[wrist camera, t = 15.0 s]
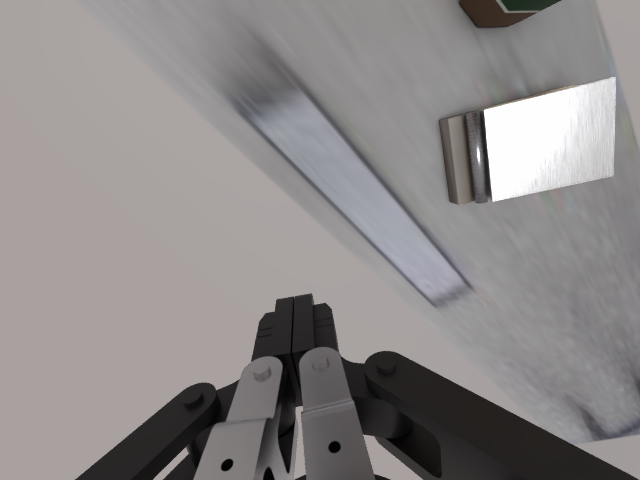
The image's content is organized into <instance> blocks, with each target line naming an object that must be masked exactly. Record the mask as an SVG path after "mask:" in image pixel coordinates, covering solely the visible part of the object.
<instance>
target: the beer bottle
mask: <svg viewBox="0 0 640 480" xmlns="http://www.w3.org/2000/svg"><path fill="white" fill-rule="evenodd" d="M559 1H561V0H461V3H460V4H461V5H462V7H463V8H464V9H465V11H466V12H467V13H468V14H469V16H470V17H471V18H472V20H473V21H474V22H475V24H476V25H477V26H478V27H508V26H510V25H513V24H515V23H517V22H520V21H522V20H524V19H526V18H528V17H530V16H531V15H533V14H535V13H537V12H539V11H541V10H543V9H545V8H547V7H549V6H551V5H553V4H555V3H557V2H559Z"/></svg>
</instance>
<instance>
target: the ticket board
mask: <svg viewBox="0 0 640 480" xmlns="http://www.w3.org/2000/svg"><path fill="white" fill-rule="evenodd" d="M574 86H576V85H572V86H567V87H562V88H558V89H554V90H550V91H546V92H543V93H539V94H535V95H531V96H528V97H524V98H520V99H516V100H513V101H509V102H505V103H502V104H498V105H494V106H490V107H487V108H483V109H479V110H475V111H472V112H468V113H464V114H460V115H457V116H453V117H449V118H446V119H442V120H439V123H440V130H441V138H442V146H443V153H444V161H445V168H446V176H447V184H448V191H449V199H450V202H452V203H455V204H458V205H460V204H464V203H467V202H471V201H475V195H474V186H473V176H472V167H471V158H470V148H469V139H468V130H467V121H466V114H469V113H473V112H478V111H481V110H484V109H488V108H492V107H496V106H500V105H504V104H508V103H512V102H516V101H520V100H523V99H527V98H531V97H535V96H539V95H543V94H547V93H551V92H555V91H558V90H562V89H566V88H570V87H574Z"/></svg>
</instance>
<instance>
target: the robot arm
mask: <svg viewBox="0 0 640 480" xmlns="http://www.w3.org/2000/svg"><path fill="white" fill-rule="evenodd" d="M298 406H303V412H301V420H302V432H303V444H304V456H305V469H306V475H304V476H302V477H300V478H297V479H295V480H390V479H387V478H385V477H382V476H379V475H375V474H374V473H373V469H372V466H371V462H370V458H369V455H368V451H367V447H366V444H365V440H364V437H363V434H364V435H370V436H375V438H376V440H377V441H378V443H379V444H380V445H382V446H383V447H384V448H385V449H387V450H388V451H389V452H390V453H391V454H393V455H394V456H395V457H396V458H398V459H399V460H400V461H401V462H403V463H404V464H405V465H406V466H407V467H409V468H410V469H411V470H412V471H414V472H415V473H416V474H417V475H418V476H420V477H421V478H422V479H423V480H638V479H637V478H635V477H633V476H631V475H630V474H628V473H626V472H624V471H622V470H620V469H618V468H616V467H614V466H612V465H610V464H608V463H607V462H605V461H603V460H601V459H599V458H597V457H595V456H593V455H591V454H589V453H587V452H585V451H584V450H582V449H580V448H578V447H576V446H574V445H572V444H570V443H568V442H567V441H565V440H563V439H561V438H559V437H557V436H555V435H553V434H551V433H549V432H547V431H546V430H544V429H542V428H540V427H538V426H536V425H534V424H532V423H530V422H528V421H526V420H525V419H523V418H520V417H519V416H517V415H515V414H513V413H511V412H509V411H507V410H505V409H504V408H502V407H500V406H498V405H496V404H494V403H492V402H490V401H488V400H486V399H484V398H483V397H481V396H479V395H477V394H475V393H473V392H471V391H469V390H467V389H465V388H463V387H462V386H459V385H458V384H456V383H454V382H452V381H450V380H448V379H446V378H444V377H442V376H440V375H439V374H437V373H434V372H433V371H431V370H429V369H427V368H425V367H423V366H421V365H419V364H418V363H416V362H414V361H412V360H410V359H408V358H406V357H404V356H402V355H400V354H398V353H396V352H391V351H382V352H377V353H375V354H373V355H371V356H370V357H369V358H368V359H367V360H366V362H365V364H361V363H353V362H350V361H347V360H345V359H344V358H343V357H341V355H340V354H339V349H338V342H337V336H336V330H335V325H334V319H333V314H332V309H331V308H330V307H329V306H328V305H327V304H326V303H323V304H317V305H314V301H313V296H312V294H305V295H300V296H295V298H294V297H288V298H283V299H277V300H276V307H275V312H270V313H266V314H265V315H264V317H263V318H262V319H261V320H260V322H259V326H258V332H257V336H256V340H255V346H254V351H253V355H252V360H251V363H249V364H248V365H247V366H246V367H245V368H244V370H243V372H242V374H241V377H240V379H239V380H238V381H236V382H234V383H233V384H230V385H228V386H226V387H223V388H221V389H219V390H216V389H215V387H214V386H213V385H212V384H209V383H198V384H195V385H192V386H190V387H188V388H186V389H185V390H183V391H182V392H181V393H180V394H178V395H177V396H176V397H175V398H173V399H172V400H171V401H170V402H169V403H167V404H166V405H165V406H164V407H162V408H161V409H160V410H159V411H158V412H156V413H155V414H154V415H153V416H152V417H151V418H149V419H148V420H147V421H146V422H145V423H143V424H142V425H141V426H140V427H138V428H137V429H136V430H135V431H133V432H132V433H131V434H130V435H129V436H127V437H126V438H125V439H124V440H123V441H122V442H120V443H119V444H118V445H117V446H115V447H114V448H113V449H112V450H111V451H109V452H108V453H107V454H106V455H104V456H103V457H102V458H101V459H100V460H98V461H97V462H96V463H95V464H94V465H92V466H91V467H90V468H89V469H88V470H86V471H85V472H84V473H83V474H81V475H80V476H79V477H78V478H77V479H75V480H153V479H154V478H155V477H156V476H157V475H158V473H160V472H161V471H162V470H163V469H164V468H165V467H166V466H167V465H168V464H169V463H170V462H171V461H172V460H173V459H174V458H175V457H176V456H177V455H178V454H179V453H180V452H181V451H182V450H183V449H184V448H185V447H186V448H187V451H188V453H189V454H188V455H187V456H186V457H185V458H184V459H183V460H182V461H181V462H180V463H179V464H178V465H177V466H176V467H175V468H174V469H173V470H172V471H171V472H170V473H169V474H168V475H167V476H166V477H165V478H164V479H163V480H294V469H295V459H296V448H297V438H298V422H297V418H296V414H295V408H296V407H298Z"/></svg>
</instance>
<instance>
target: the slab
mask: <svg viewBox="0 0 640 480" xmlns="http://www.w3.org/2000/svg"><path fill="white" fill-rule="evenodd" d="M615 97H616V77H612V78H606V79H601V80H597V81H594V82H590V83H586V84H582V85H578V86H574V87H570V88H566V89H562V90H558V91H555V92H551V93H547V94H543V95H539V96H535V97H531V98H527V99H523V100H520V101H516V102H512V103H508V104H504V105H500V106H496V107H492V108H488V109H484V110H481V111H478V112H473V113H469V114H466V121H467V130H468V139H469V148H470V158H471V167H472V176H473V186H474V195H475V203H485V202H488V199H489V200H491V201H492V202H493V201H498V200H503V199H507V198H512V197H517V196H521V195H526V194H531V193H535V192H540V191H545V190H550V189H554V188H559V187H564V186H568V185H573V184H578V183H582V182H587V181H592V180H597V179H601V178H606V177H611V176H614V137H615Z"/></svg>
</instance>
